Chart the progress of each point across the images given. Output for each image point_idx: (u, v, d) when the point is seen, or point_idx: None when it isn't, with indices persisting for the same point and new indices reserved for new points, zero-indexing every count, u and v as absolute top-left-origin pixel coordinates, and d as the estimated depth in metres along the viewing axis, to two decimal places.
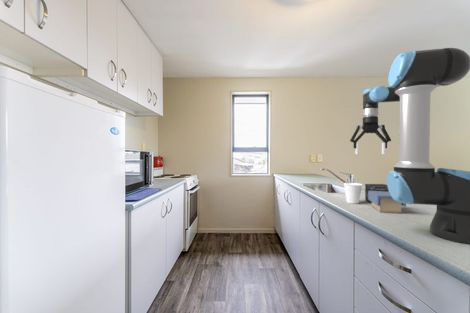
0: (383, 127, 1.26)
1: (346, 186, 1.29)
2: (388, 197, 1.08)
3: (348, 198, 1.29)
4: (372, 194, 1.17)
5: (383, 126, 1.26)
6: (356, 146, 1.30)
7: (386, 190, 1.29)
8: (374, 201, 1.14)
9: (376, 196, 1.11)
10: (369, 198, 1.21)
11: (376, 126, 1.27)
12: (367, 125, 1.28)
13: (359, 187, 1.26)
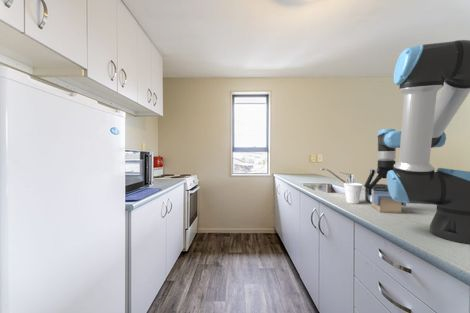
0: None
1: (346, 186, 1.29)
2: (388, 197, 1.08)
3: (348, 198, 1.29)
4: None
5: None
6: (371, 193, 1.16)
7: (386, 190, 1.29)
8: (374, 201, 1.14)
9: (376, 196, 1.11)
10: (369, 198, 1.21)
11: None
12: (383, 169, 1.14)
13: (359, 187, 1.26)
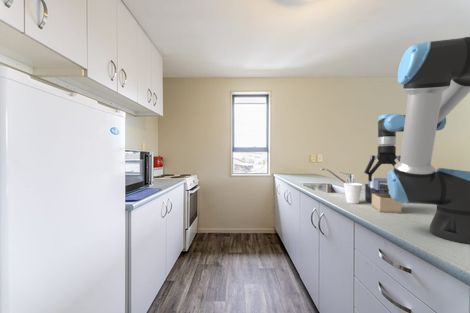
0: None
1: (346, 186, 1.29)
2: None
3: (348, 198, 1.29)
4: None
5: None
6: (371, 179, 1.15)
7: (386, 190, 1.29)
8: (374, 186, 1.13)
9: (376, 181, 1.11)
10: (369, 185, 1.21)
11: (393, 156, 1.13)
12: (383, 155, 1.14)
13: (359, 187, 1.26)
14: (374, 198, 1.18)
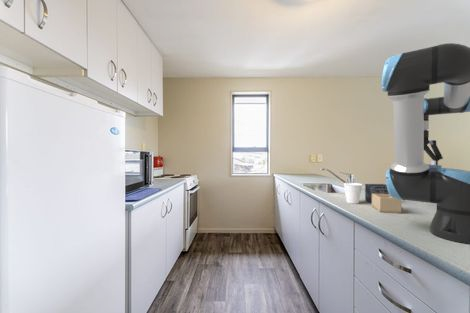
0: (434, 143, 1.11)
1: (346, 186, 1.29)
2: None
3: (348, 198, 1.29)
4: None
5: (434, 142, 1.11)
6: None
7: (386, 190, 1.29)
8: None
9: None
10: None
11: (426, 141, 1.12)
12: None
13: (359, 187, 1.26)
14: (374, 198, 1.18)
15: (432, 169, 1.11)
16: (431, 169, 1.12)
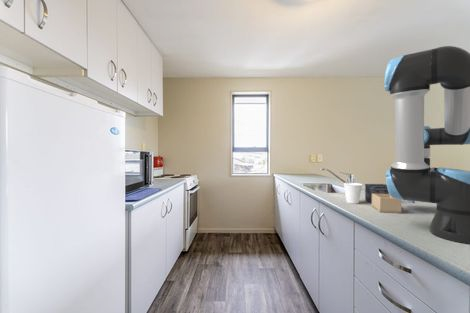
0: (436, 170, 1.11)
1: (346, 186, 1.29)
2: None
3: (348, 198, 1.29)
4: None
5: (436, 169, 1.11)
6: None
7: (386, 190, 1.29)
8: None
9: None
10: None
11: None
12: None
13: (359, 187, 1.26)
14: (374, 198, 1.18)
15: None
16: None
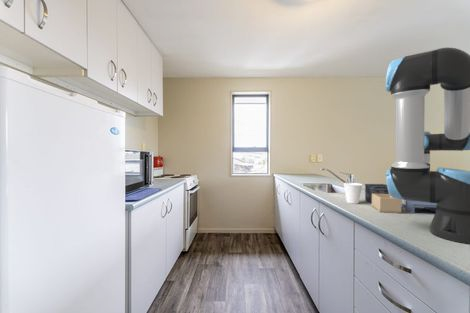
0: None
1: (346, 186, 1.29)
2: (424, 205, 1.08)
3: (348, 198, 1.29)
4: None
5: None
6: None
7: (386, 190, 1.29)
8: (408, 209, 1.13)
9: (411, 204, 1.10)
10: None
11: None
12: None
13: (359, 187, 1.26)
14: (374, 198, 1.18)
15: (433, 207, 1.11)
16: (432, 207, 1.12)
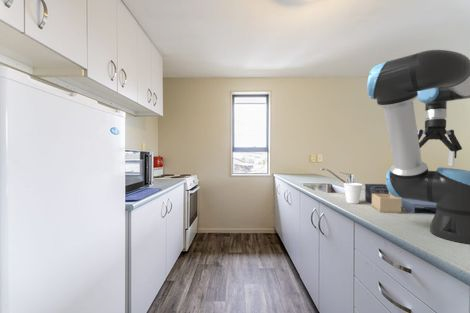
0: (452, 133, 1.04)
1: (346, 186, 1.29)
2: (424, 205, 1.08)
3: (348, 198, 1.29)
4: (405, 202, 1.16)
5: (452, 131, 1.04)
6: None
7: (386, 190, 1.29)
8: (408, 209, 1.13)
9: (411, 204, 1.10)
10: None
11: (443, 131, 1.05)
12: (432, 130, 1.05)
13: (359, 187, 1.26)
14: (374, 198, 1.18)
15: (433, 207, 1.11)
16: (432, 207, 1.12)
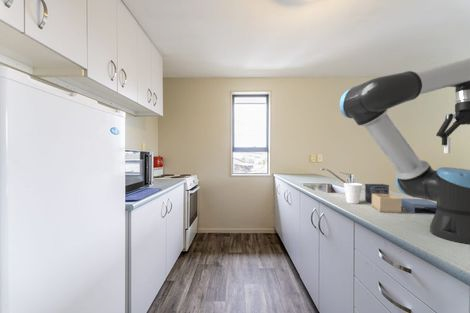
0: None
1: (346, 186, 1.29)
2: (424, 205, 1.08)
3: (348, 198, 1.29)
4: (405, 202, 1.16)
5: None
6: (447, 142, 0.95)
7: (386, 190, 1.29)
8: (408, 209, 1.13)
9: (411, 204, 1.10)
10: None
11: None
12: (464, 113, 0.93)
13: (359, 187, 1.26)
14: (374, 198, 1.18)
15: (433, 207, 1.11)
16: (432, 207, 1.12)
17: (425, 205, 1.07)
